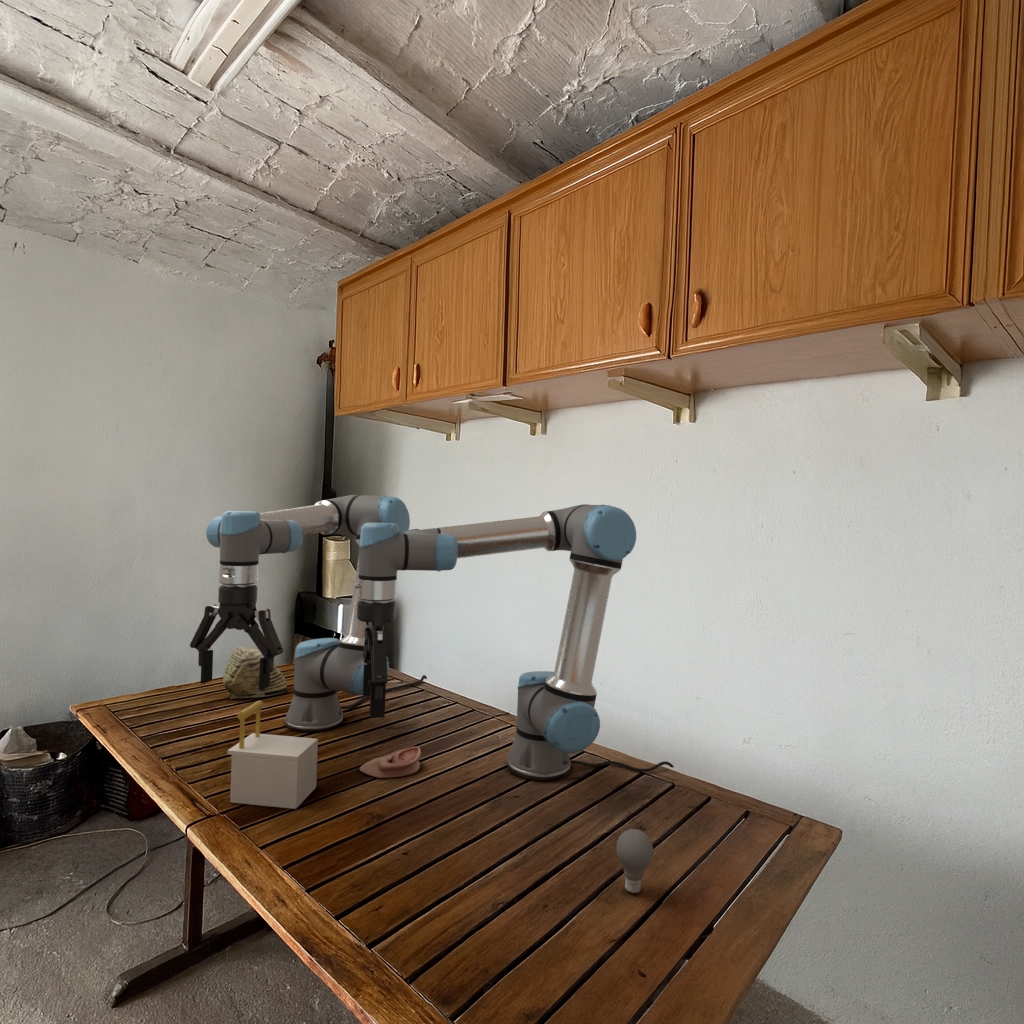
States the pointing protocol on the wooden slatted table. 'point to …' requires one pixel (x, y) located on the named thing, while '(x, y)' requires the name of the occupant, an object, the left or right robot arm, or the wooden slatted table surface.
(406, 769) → the anatomical model
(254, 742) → the lid
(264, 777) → the chest
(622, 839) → the light bulb
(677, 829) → the wooden slatted table surface
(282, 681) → the fossil
